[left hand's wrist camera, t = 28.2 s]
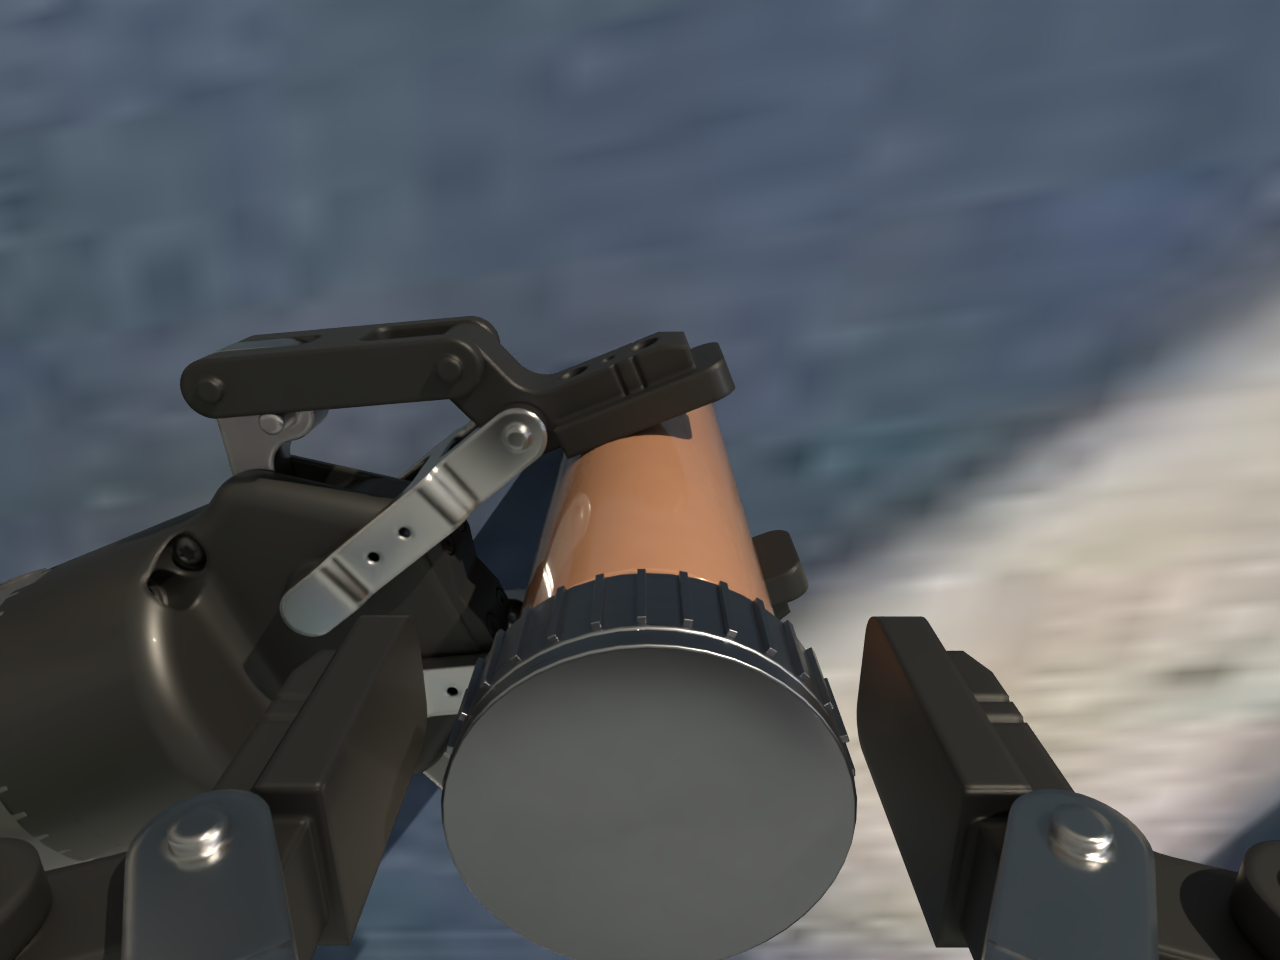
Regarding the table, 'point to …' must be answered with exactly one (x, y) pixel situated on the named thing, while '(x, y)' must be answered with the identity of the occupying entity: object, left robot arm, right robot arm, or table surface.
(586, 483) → the jar
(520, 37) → the table surface
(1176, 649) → the table surface
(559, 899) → the lid
